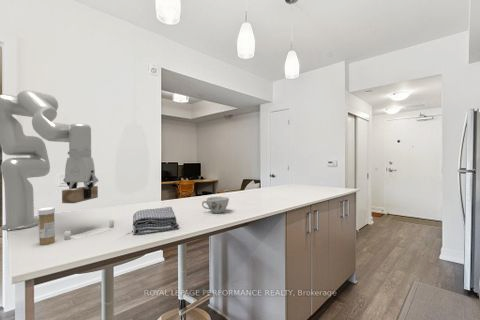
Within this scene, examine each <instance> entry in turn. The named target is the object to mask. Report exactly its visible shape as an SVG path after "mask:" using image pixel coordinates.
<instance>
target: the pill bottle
mask: <svg viewBox="0 0 480 320" xmlns="http://www.w3.org/2000/svg"><path fill="white" fill-rule="evenodd" d="M37 211H38V213H37V214H38V236H39V246H49V245H52V244H54V243H55V235H56V234H55V232H56V226H55V224H56V223H55V211H56V210H55V207H54V206H53V207H52V206H49V207H41V208H38V210H37Z"/></svg>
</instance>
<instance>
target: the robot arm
mask: <svg viewBox="0 0 480 320" xmlns="http://www.w3.org/2000/svg"><path fill="white" fill-rule="evenodd" d="M58 108H59V102H58V100H57V99H56V98H55V96H52V95H50V94H48V93H43V92H39V91H34V90H21V91H20V92H18V94H17V96H16V95H12V94H0V148H1V151H2V152H3V154H5V155H7V156H19V157H11V158H8V159H5V160H4V161H2V162H1V164H0V172H1V175H2V179H3V184H4V185H3V186H4V208H5V211H4V212H5V213H4V214H5V224H3V225H1V226H0V230H1V231H17V230H24V229H28V228H32V227H35V226H37V225H39V220H37V219H36V220H35V217H34V216H35V206H34V205H35V204H34V187H33V184H32V183H31V181H29V179H30V178H40V177H42V178H43V177H45V176H47V175H49V173H50V171H51V170H50V169H51V165H50V160H49V155H48V149H47V147H46V143H45V141H48V142H57V143H59V142H60V143H68V145H69V146H68V150H69V151H68V152H67V155H69V156H68V157H67V158H66V161H65V162H66V163H65V169H64V179H63V182H64V183H65V184H66V186H68V189H73V188H78V185H79V183H83V185H84V186H85V189H84V199H88V198H91V188H93V186H96V185H95V184H97V183H98V182H99V178H97V176H96V172H95V171H96V170H95V163H94V158H93V157H92V128H91V126H90V125H88V124H85V123H72V124H66V123H61V122H60V123H59V122H53V121H54V120H55V119H56V118H57V117H58V112H57V111H58ZM14 116H20V117H28V118H31V125H32V129H33V130H34V131H35V132H36V134H37V135H39V137H38V136H33V135H25V132H24V129H23V126H22V124H21V123H20V122H19V121H18V119H17V118H16V117H14ZM40 137H41V138H40ZM43 139H44V140H45V141H44V140H43ZM21 156H29V157H21ZM84 186H83V187H84ZM8 229H10V230H8Z"/></svg>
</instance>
